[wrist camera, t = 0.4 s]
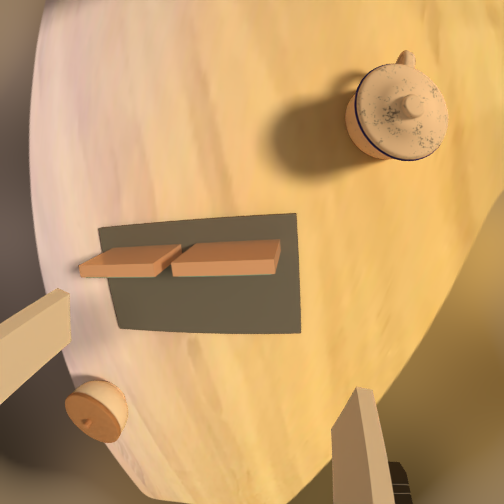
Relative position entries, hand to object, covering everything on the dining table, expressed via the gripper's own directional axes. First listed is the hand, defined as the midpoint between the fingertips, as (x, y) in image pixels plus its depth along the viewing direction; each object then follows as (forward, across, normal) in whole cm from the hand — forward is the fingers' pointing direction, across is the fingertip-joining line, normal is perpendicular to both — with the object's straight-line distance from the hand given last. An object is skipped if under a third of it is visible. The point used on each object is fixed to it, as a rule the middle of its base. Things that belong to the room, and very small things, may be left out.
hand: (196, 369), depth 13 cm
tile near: (+26, -3, -2) cm, 26 cm away
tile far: (+26, -14, -6) cm, 30 cm away
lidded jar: (+26, -19, -35) cm, 48 cm away
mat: (+26, -7, -8) cm, 28 cm away
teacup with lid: (+26, +9, +18) cm, 33 cm away
